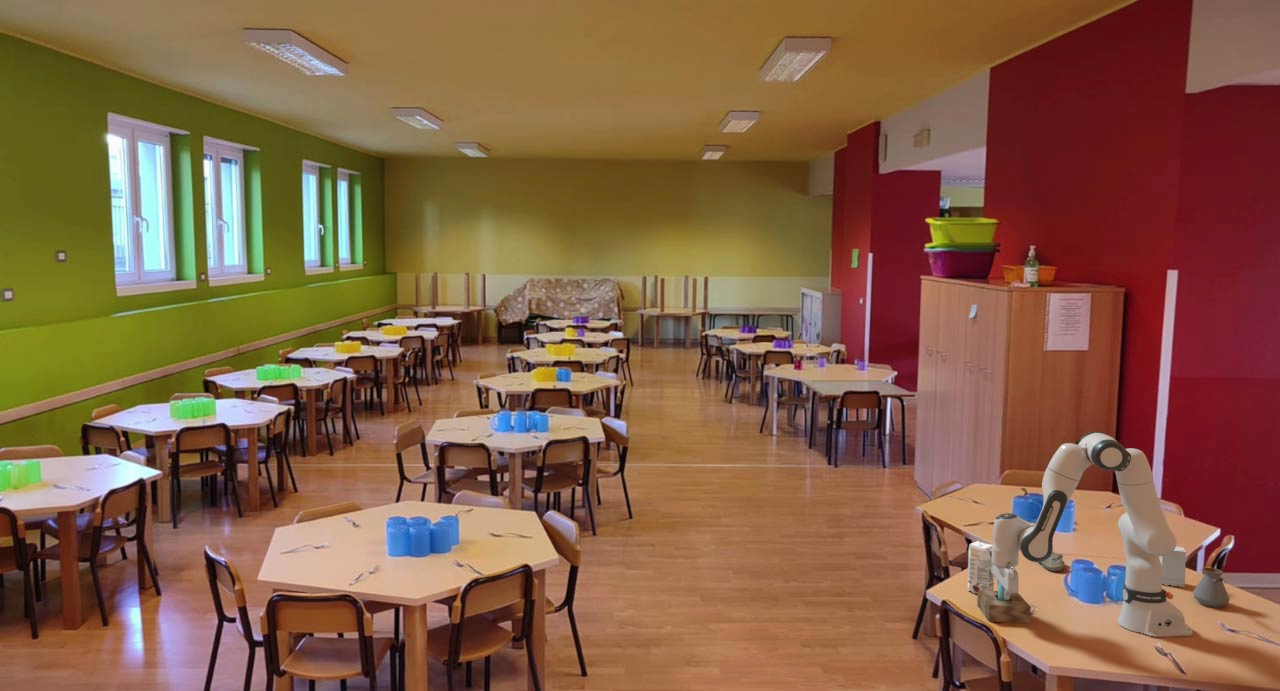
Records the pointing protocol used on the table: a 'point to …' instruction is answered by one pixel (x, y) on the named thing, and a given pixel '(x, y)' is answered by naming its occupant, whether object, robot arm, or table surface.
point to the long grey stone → (1054, 562)
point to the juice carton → (979, 567)
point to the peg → (1001, 593)
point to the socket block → (1003, 607)
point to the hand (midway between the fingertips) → (1003, 595)
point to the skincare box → (1174, 567)
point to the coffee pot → (1211, 589)
